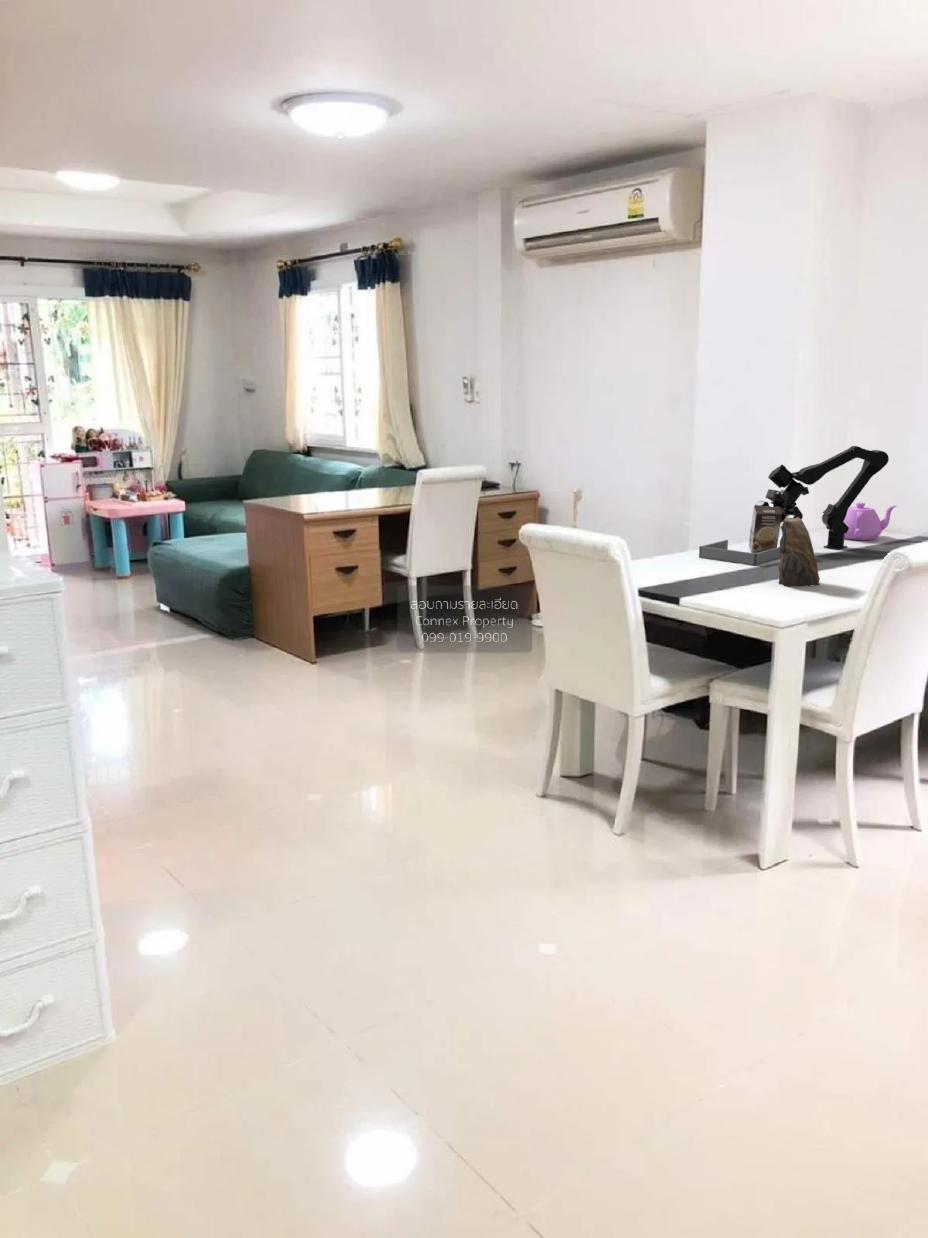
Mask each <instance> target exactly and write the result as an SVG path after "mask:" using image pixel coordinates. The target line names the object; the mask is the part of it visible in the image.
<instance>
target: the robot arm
mask: <svg viewBox="0 0 928 1238" xmlns="http://www.w3.org/2000/svg"><path fill="white" fill-rule="evenodd" d="M855 459H861V460H864V461H863V462H862V466H861V470H860V471H859V472H858V473H857V475H856V477H855V478H854V479H853V481H852V482H851V483H850V485H849V486H848V487H847V489H846V490H845V491H844V492H843V494H842V495H841V496H840V498H839V500H837V501H836V503H834V504H831V503H829V504H827V506H826V509H825V510H824V511H822V516H821V521H822V524H823V525H825V528H826V530H828V536H827V545H823V548H826V549H835V550H843V549H847V548H848V545H845V533H847V531H848V529H849V527H848V526H847V525H846V524H845V523H844V522H843V521H844V519H845V517H846V514H847V511H848V508H849V507H852V506H851V505H852V504H853V503H854V501H856V499H857V497H858V496H859V495H860V493H861V492H862V491H863V489H864V488H865V487H866V485H867V484H868V483H869V481H870V480H871V478H873V476H875V475H876V474H878V473H879V472H880V471H882V469H883V468H884V467H885V466H886V465H888V463H889V460H890V459H889V455H888V453H887V452H886V451H884V450H883V451H882V450H879V449H871V450H868V449H866V448H863V447H861V446H858V445H852V446H850V447H849V448H847V449H845V450H843V451H841V452H840V453H837V454H835V455H833V456H832V457H829V458H828V459H825V460H824V461H822V462H820V463H815V464H811V465H808V466H806V467H805V466H804V467H802V468H801V469H799V471H795V472H791V471H790V470H789V469H788V468H787V467H786V466H785V465H784V464H780V465H779V466H778V467H776V468H774V469H773V470H771V472H770V473H769V475H768V476H767V478H768V479H769V480H770V481H771V482H772V483H773V484H774V485H775V486H777V488H779V489H781V488H784V489H781V490H776V489H770V488H769V489H768V490H767V491H766V495H765V498H766V499H768V500H770V503H771V504H769V502H768V501H763V500H757V502H756V503H755V505H754V506H779V508H780V509H781V512H782V519H781V524H783V520H784V519H785V518H789V517H790V516H793V517H792V518H797V517H800V519H801V520H803V518H804V516H803V515H804V514H803V512H802V511H801V509H800V508H799V506H797V505H798V504H797V503H796V502H797V500H799V498H800V496H801V495H802V496H806V495H809V494H810V491H809V487H808V486H811V485H814V484H815V483H817V482H818V481H819V480H821V479H822V478H824V476H825V475H826V474H827V473H829V472H832V471H833V470H836V469H837V468H839V467H841V466H843V465H846V464H847V463H849V462H851V461H853V460H855ZM804 485H808V486H804Z"/></svg>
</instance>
